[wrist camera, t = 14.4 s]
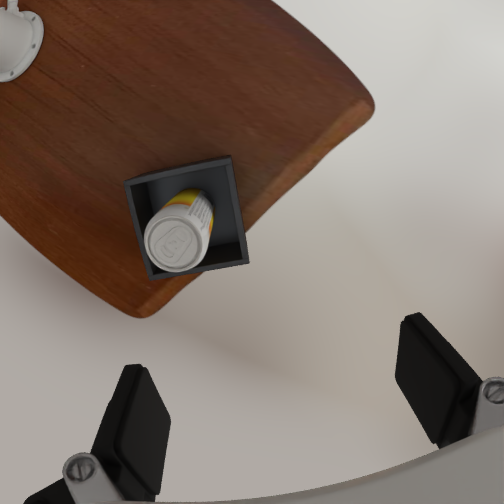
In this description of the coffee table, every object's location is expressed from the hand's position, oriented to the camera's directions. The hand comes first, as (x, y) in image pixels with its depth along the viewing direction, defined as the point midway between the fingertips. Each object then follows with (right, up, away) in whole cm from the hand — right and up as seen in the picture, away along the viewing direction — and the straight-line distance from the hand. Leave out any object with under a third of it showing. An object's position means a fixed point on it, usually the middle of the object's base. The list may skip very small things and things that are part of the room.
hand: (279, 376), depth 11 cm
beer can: (-9, +10, +32) cm, 34 cm away
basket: (-9, +10, +32) cm, 35 cm away
